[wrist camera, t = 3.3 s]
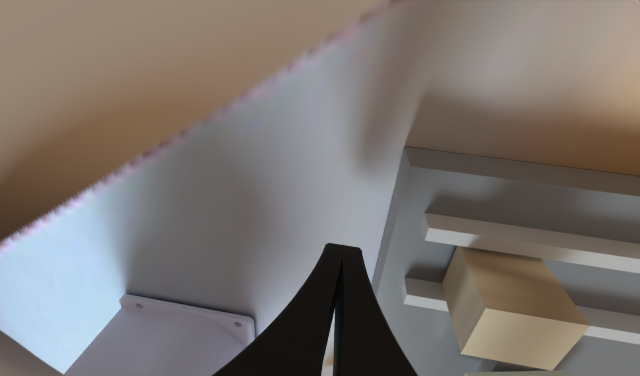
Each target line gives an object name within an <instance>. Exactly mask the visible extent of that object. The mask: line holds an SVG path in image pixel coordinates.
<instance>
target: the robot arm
mask: <svg viewBox="0 0 640 376" xmlns="http://www.w3.org/2000/svg"><path fill="white" fill-rule="evenodd" d="M119 301H120V304H121V307H122V308H121V309H120V310H119V312H118V313H117V314H116V315H115V316H114V317H113V318H112V320H111V321H110V322H109V323H108V324H107V325H106V326H105V328H104V329H103V330H102V331H101V332H100V333H99V335H98V336H97V337H96V338H95V339H94V340H93V341H92V343H91V344H90V345H89V346H88V347H87V348H86V349H85V351H84V352H83V353H82V354H81V355H80V356H79V357H78V359H77V360H76V361H75V362H74V363H73V364H72V366H71V367H70V368H69V369H68V370H67V371H66V372H65V374H64V375H63V376H321V372H322V364H323V359H324V355H325V350H326V346H327V341H328V337H329V332H330V328H331V323H332V319H333V314H334V309H335V328H334V363H333V376H418V374H417V373H416V371H415V370H414V368H413V367H412V365H411V363H410V362H409V360H408V359H407V357H406V356H405V354H404V352H403V351H402V349H401V347H400V345H399V344H398V342H397V340H396V338H395V336H394V335H393V333H392V331H391V329H390V327H389V325H388V323H387V321H386V319H385V317H384V315H383V313H382V310H381V308H380V306H379V304H378V301H377V299H376V296H375V294H374V291H373V289H372V286H371V283H370V281H369V278H368V275H367V271H366V268H365V264H364V260H363V256H362V250H361V249H360V248H358V247H351V246H345V245H339V244H332V243H328V244H326V245H325V248H324V250H323V253H322V255H321V257H320V259H319V261H318V262H317V264H316V266H315V268H314V269H313V271H312V272H311V274H310V275H309V277H308V279H307V280H306V282H305V283H304V284H303V286H302V287H301V288H300V290H299V291H298V292H297V294H296V295H295V297H294V298H293V299H292V300H291V301H290V303H289V304H288V305H287V306H286V308H285V309H284V310H283V311H282V312H281V313H280V314H279V315H278V317H277V318H276V319H275V320H274V321H273V322H272V323H271V324H270V325H269V326H268V327H267V328H266V329H265V330H264V331H263V332H262V333H261V334H260V335H259V336H258V337H257V338H256V339H255V327H254V321H253V319H252V318H250V317H248V316H243V315H237V314H232V313H226V312H221V311H215V310H210V309H205V308H199V307H194V306H188V305H183V304H178V303H172V302H167V301H161V300H156V299H150V298H145V297H140V296H134V295H129V294H125V295H123V296H122V297H121V298H120V300H119Z"/></svg>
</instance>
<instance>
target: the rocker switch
mask: <svg viewBox="0 0 640 376" xmlns="http://www.w3.org/2000/svg"><path fill="white" fill-rule="evenodd" d="M464 376H569V375H568V374H567V373H566V371H565V370H553V371H513V372H473V373H465V375H464Z"/></svg>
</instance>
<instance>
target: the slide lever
mask: <svg viewBox="0 0 640 376" xmlns="http://www.w3.org/2000/svg"><path fill="white" fill-rule="evenodd" d="M442 289H443V292H444V296H445V300H446V303H447V307H448V310H449V314H450V318H451V321H452V325H453V328H454V332H455V336H456V339H457V343H458V346H459V350H460V354H464V355H469V356H475V357H480V358H485V359H491V360H496V361H502V362H507V363H513V364H518V365H524V366H529V367H534V368H540V369H545V370H551V371H552V370H553V369H554V368H555V367H556V366H557V365H558V363H559V362H560V361H561V360H562V359H563V358H564V356H565V355H566V354H567V353H568V352H569V351H570V349H571V348H572V347H573V346H574V345H575V344H576V342H577V341H578V340H579V339H580V338H581V337H582V336H583V334H584V333H585V332H586V331H587V330H588V329H589V327H590V324H589V323H588V322H587V320H586V319H585V318H584V316H583V315H582V314H581V312H580V311H579V309H578V308H577V307H576V305H575V304H574V303H573V301H572V300H571V299H570V297H569V296H568V294H567V293H566V292H565V290H564V289H563V288H562V286H561V285H560V284H559V282H558V281H557V280H556V278H555V277H554V275H553V274H552V273H551V271H550V270H549V269H548V267H547V266H546V265H545V263H544V262H543V260H542V259H541V258H536V257H529V256H523V255H516V254H510V253H503V252H497V251H490V250H484V249H477V248H470V247H464V246H457V248H456V250H455V253H454V255H453V258H452V260H451V263H450V265H449V268H448V270H447V272H446V275H445V277H444V280H443V282H442Z"/></svg>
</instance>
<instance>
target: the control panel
mask: <svg viewBox="0 0 640 376" xmlns="http://www.w3.org/2000/svg"><path fill="white" fill-rule="evenodd" d="M457 246H464V247H470V248H477V249H484V250H490V251H497V252H503V253H510V254H516V255H523V256H529V257H536V258H541V259H542V260H543V262H544V263H545V265H546V266H547V267H548V269H549V270H550V271H551V273H552V274H553V275H554V277H555V278H556V280H557V281H558V282H559V284H560V285H561V286H562V288H563V289H564V290H565V292H566V293H567V294H568V296H569V297H570V299H571V300H572V301H573V303H574V304H575V305H576V307H577V308H578V309H579V311H580V312H581V314H582V315H583V316H584V318H585V319H586V320H587V322H588V323H589V324H590V327H589V329H588V330H587V331H586V332H585V333H584V334H583V336H582V337H581V338H580V339H579V340H578V341H577V342H576V344H575V345H574V346H573V347H572V348H571V349H570V351H569V352H568V353H567V354H566V355H565V356H564V358H563V359H562V360H561V361H560V362H559V363H558V365H557V366H556V367H555V368H554V369H553V370H565V371H566V373H567V374H568V375H569V376H640V176H633V175H625V174H617V173H609V172H601V171H593V170H585V169H578V168H570V167H562V166H554V165H546V164H538V163H530V162H522V161H514V160H506V159H499V158H491V157H483V156H475V155H467V154H459V153H451V152H443V151H435V150H428V149H420V148H412V147H404V150H403V154H402V159H401V163H400V167H399V171H398V175H397V180H396V184H395V188H394V192H393V196H392V200H391V205H390V209H389V213H388V217H387V221H386V226H385V230H384V234H383V238H382V242H381V246H380V251H379V255H378V259H377V263H376V267H375V272H374V276H373V280H372V284H371V286H372V289H373V291H374V294H375V296H376V299H377V301H378V304H379V306H380V308H381V310H382V313H383V315H384V317H385V319H386V321H387V323H388V325H389V327H390V329H391V331H392V333H393V335H394V336H395V338H396V340H397V342H398V344H399V345H400V347H401V349H402V351H403V352H404V354H405V356H406V357H407V359H408V360H409V362H410V363H411V365H412V367H413V368H414V370H415V371H416V373H417V374H418V376H464V375H465V373H473V372H513V371H551V370H545V369H540V368H534V367H529V366H524V365H518V364H513V363H507V362H502V361H496V360H491V359H485V358H480V357H475V356H469V355H464V354H460V350H459V346H458V343H457V339H456V336H455V332H454V328H453V325H452V321H451V318H450V314H449V310H448V307H447V303H446V300H445V296H444V292H443V289H442V282H443V280H444V277H445V275H446V272H447V270H448V268H449V265H450V263H451V260H452V258H453V255H454V253H455V250H456V248H457ZM553 370H552V371H553Z"/></svg>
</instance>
